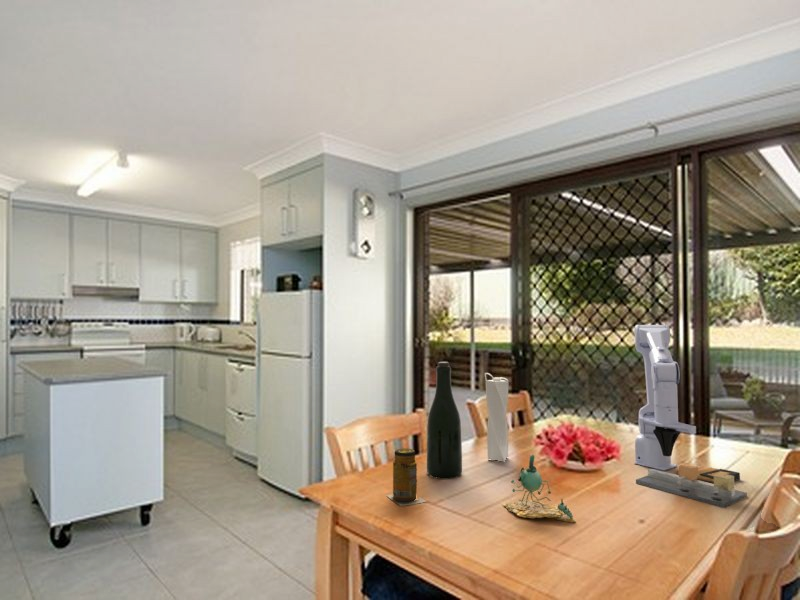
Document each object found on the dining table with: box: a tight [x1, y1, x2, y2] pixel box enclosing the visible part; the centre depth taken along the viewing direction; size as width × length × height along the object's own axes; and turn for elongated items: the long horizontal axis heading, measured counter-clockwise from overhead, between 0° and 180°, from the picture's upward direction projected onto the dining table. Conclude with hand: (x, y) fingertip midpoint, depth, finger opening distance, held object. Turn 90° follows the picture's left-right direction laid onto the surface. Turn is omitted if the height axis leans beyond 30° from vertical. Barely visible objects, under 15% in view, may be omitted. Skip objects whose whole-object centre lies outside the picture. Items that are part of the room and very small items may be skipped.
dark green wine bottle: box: [426, 361, 463, 479], centre depth 146 cm, size 10×10×33 cm
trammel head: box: [677, 463, 698, 486], centre depth 130 cm, size 3×7×4 cm, turn 124°
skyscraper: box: [484, 372, 509, 462], centre depth 161 cm, size 8×8×28 cm
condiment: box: [385, 447, 427, 507], centre depth 125 cm, size 7×8×12 cm
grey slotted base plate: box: [635, 468, 748, 508], centre depth 131 cm, size 22×13×6 cm, turn 35°
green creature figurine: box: [502, 454, 577, 523], centre depth 115 cm, size 10×18×15 cm, turn 43°
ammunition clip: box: [677, 465, 741, 484], centre depth 141 cm, size 11×2×12 cm
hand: (667, 455), depth 136 cm, fingers closed
